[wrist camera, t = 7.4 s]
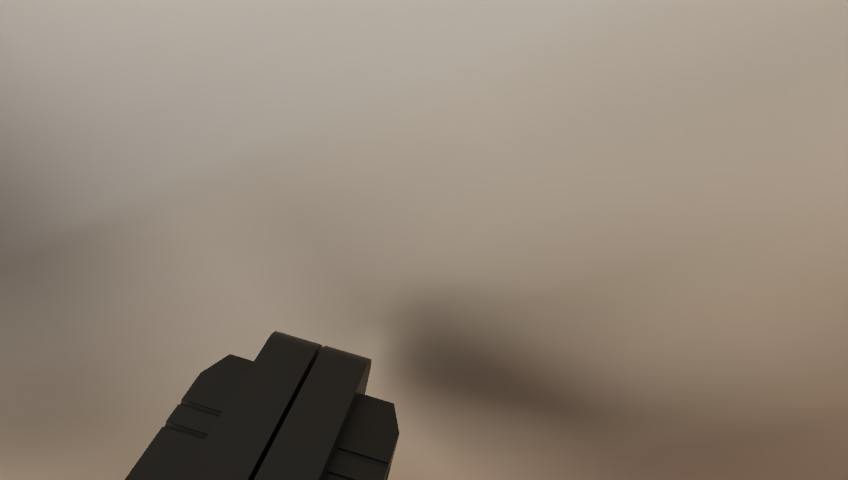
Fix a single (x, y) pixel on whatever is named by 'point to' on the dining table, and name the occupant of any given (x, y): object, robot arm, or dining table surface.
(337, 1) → the dining table surface
